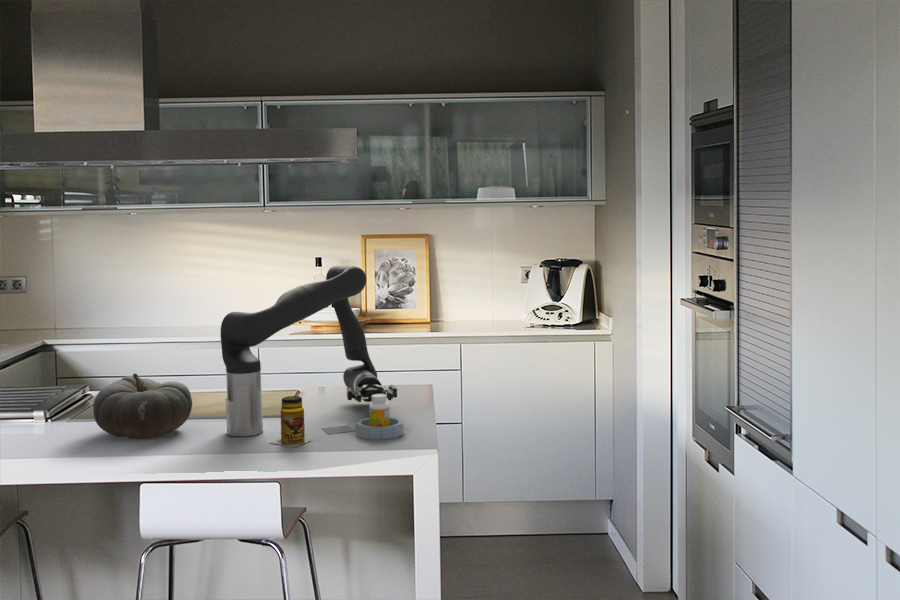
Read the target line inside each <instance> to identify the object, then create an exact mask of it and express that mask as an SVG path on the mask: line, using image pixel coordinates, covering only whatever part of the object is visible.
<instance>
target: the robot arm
mask: <svg viewBox="0 0 900 600" xmlns="http://www.w3.org/2000/svg"><path fill="white" fill-rule="evenodd" d="M326 272H327V273H326V275H325V276H326V277H325V280H320V281H314V282H310V283H305V284H302V285H301V284H300V285H299V286H296V287H294V288H292V289H290V290H287V291H286V292H284V293H283V294H281V295H280V296H279V297H278V299H277V301H276V302H275V303H274V304H273V305H272V306H269V307H267V308H265V309H262V310H260V311H255V312H246V311H245V312H244V311H230V312H229V313H227V314H226V315H225V316H224V318H223V319H222V321H221V326H220V344H221V346H220V347H221V356H222V361H223V364H224V365H225V371H226V372H225V373H226V374H225V375H226V377H225V378H226V398H225V412H226V413H225V416H226V432H227V434H228V435H229V437H231V438H232V437H250V436H251V437H253V436H257V435H259V434H262V433H263V432H264V423H263V422H264V421H263V401H262V399H263V397H262V396H263V394H262V366H261V364H262V363H261V360H260V359H259V358H258V357H257V356H256V355H254V354H253V352H252V350H251V347H255V346H258V345H260V344H262V343H263V342H265V341H266V340H267V339H269V338H270V337H272V336H274V335H275V334H276V333H278V332H280V331H281V330H283V329H286V328H288V327H291V326H292V325H294V324H296V323H299V322H301V321H303V320H306V319H307V318H309V317H311V316H313V315H315V314H317V313H318V312H321V311H322V310H324V309H326V308H328V307H329V306H333V309H334V312H335V314H336V317H337V321H338V323H339V324H338V325H339V327H340V328H339V329H340V331H341V336H342V342H343V349H344V354H345V358H346V360H348V361H353V362H354V361H355V362H362V363H363V364H360V365H355V366H351V367H348V368H346V369H345V370H344V371H343V373H342V374H343V375H342V376H343V377H342V378H343V383H344V384H345V386H346V397H347V400H348V401H353V400H354V401H356V402H358V403H361V402H362V401H363V402H367V403H369V402H370V403H373V401H372V395H374V394H385V395H386V400H388V401H392V400H393V399H394V398H395V399H396V398H398V388H397V387H396V385H395V386H394V385H393V384H389V386H388V387H386V386H384V385H382V383H381V381H380V380H379V379H378V372H377V370H376V368H375V365H374V364H373V361H372V360H371V356H370V355H369V350H368V346H367V340H366V334H365V331H364V328H363V326H362V324H361V322H360V321H359V319H358V317H357V316H356V315H355V312H354V311H353V309H352V306H351V304H350V301H349V298H351V297H354V296H357V295H358V294H359V295H360V293H361V292H363V291H364V288H365V287H366V285H367V276H366V275H367V274H366V273H365V271H364V270H363V269H362V268H360V267H359V266H356V265H346V264H345V265H341V264H339V265H332V266H331V267H330V268H328V270H327V271H326Z"/></svg>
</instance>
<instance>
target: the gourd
mask: <svg viewBox="0 0 900 600" xmlns="http://www.w3.org/2000/svg"><path fill="white" fill-rule="evenodd" d="M92 406H93V415H94V416H93V417H94V420H95V423H96V424H97V426H98V427H99V428H100V429H101V430H102V431H104V432H105V433H107V434H109V435H111V436H113V437H116V438H123V437H126V438H128V439H133V440H144V439H145V440H150V439H155V438H159V437H163V436H165V435H167V434H170V433H171V432H173V431H176V430H177V429H179V428H180V427H181V426H183V425H184V424H185V423H186V421H187V420H188V419H189V417H190V416H191V413H192V408H193V399H192V395H191V392H190V389H189V387H188V386H186V384H184V383H182V382H179V381H165V382H163V383H161V382H158V381H155V380H154V379H150V378H142V377H139V376H138V374H137V373H135V372H134V373H133V374H132V376H131V375H128V376H123V377H122V378H120V379H119V380H116V381H113V382H112V383H110V384H108V385H106V386H104V387H103V388H102V389H101V390H100V391H99V392H98V393H97V394H96V396H95V398H94V400H93V405H92Z"/></svg>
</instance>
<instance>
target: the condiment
mask: <svg viewBox="0 0 900 600" xmlns="http://www.w3.org/2000/svg"><path fill="white" fill-rule="evenodd" d="M280 435H281V437H280V439H277V440H274V441H270V444H274V445H280V446H282V447H283V446H284V447H293V448H294V447H299V446H302V445H304V444H306V443H308V442H310V441H312V439H306V437H305V436H306V435H305V410H304V407H303V398H302V397H301V396H297V395H290V396H285V397H282V398H281V408H280Z"/></svg>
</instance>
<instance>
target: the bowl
mask: <svg viewBox="0 0 900 600" xmlns="http://www.w3.org/2000/svg"><path fill="white" fill-rule="evenodd" d="M404 427H405V426H404V420H403V419H401V418H399V417H393V416H389V426H383V427H371V426H370V421H369V417H365V418H362V419H359V420H357V422H355V430H356V431H355V433H356V436H357V437H359V438H360V439H365V440H374V441H375V440H379V441H380V440H381V441H382V440H390V439H396V438H399V437H402V436H403V434H404V431H405V430H404Z"/></svg>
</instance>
